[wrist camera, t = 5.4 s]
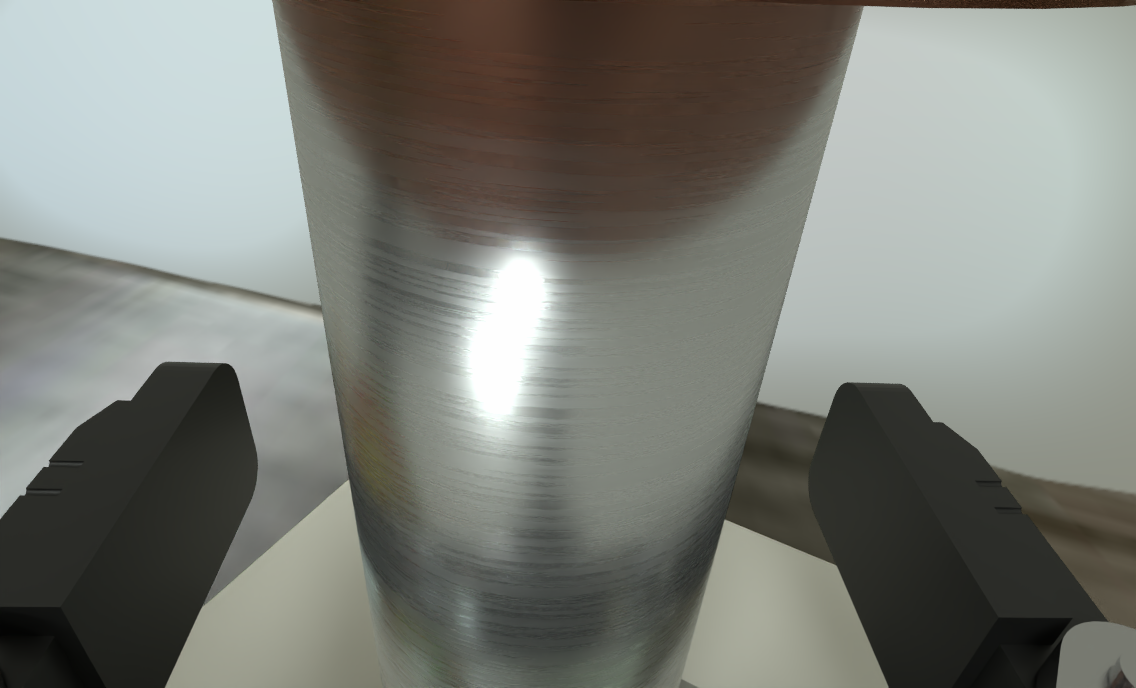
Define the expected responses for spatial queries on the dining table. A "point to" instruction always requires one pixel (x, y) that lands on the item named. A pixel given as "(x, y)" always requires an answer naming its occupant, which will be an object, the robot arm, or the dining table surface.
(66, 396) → the dining table surface
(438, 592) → the copper topped metal cylinder
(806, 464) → the dining table surface
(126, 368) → the dining table surface
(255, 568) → the block
